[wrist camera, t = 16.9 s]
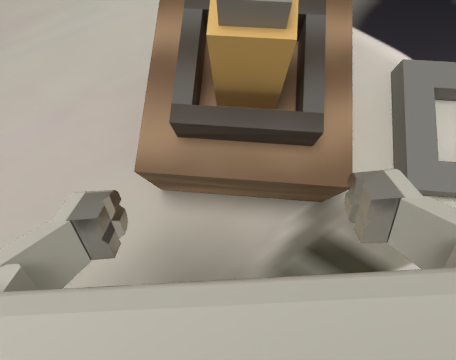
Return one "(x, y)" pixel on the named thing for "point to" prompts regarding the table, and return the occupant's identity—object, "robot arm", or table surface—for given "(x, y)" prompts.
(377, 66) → the table surface
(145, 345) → the robot arm
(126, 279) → the table surface
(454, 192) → the socket plate
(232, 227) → the table surface
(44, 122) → the table surface
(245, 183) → the socket block
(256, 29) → the plug
